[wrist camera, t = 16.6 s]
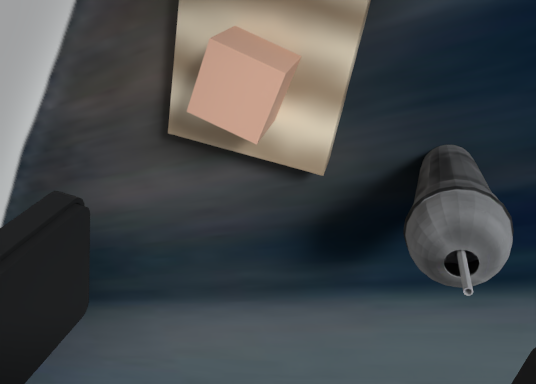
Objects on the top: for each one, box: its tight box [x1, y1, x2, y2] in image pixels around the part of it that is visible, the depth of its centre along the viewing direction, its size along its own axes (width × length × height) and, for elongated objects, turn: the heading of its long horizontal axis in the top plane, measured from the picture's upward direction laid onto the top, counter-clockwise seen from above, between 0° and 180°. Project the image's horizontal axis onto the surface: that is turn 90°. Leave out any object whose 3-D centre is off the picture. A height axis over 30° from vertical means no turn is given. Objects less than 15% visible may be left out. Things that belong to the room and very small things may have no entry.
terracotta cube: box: [187, 26, 302, 145], centre depth 40 cm, size 6×6×6 cm
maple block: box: [168, 0, 371, 176], centre depth 44 cm, size 15×15×4 cm
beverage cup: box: [404, 145, 514, 296], centre depth 37 cm, size 7×7×20 cm
